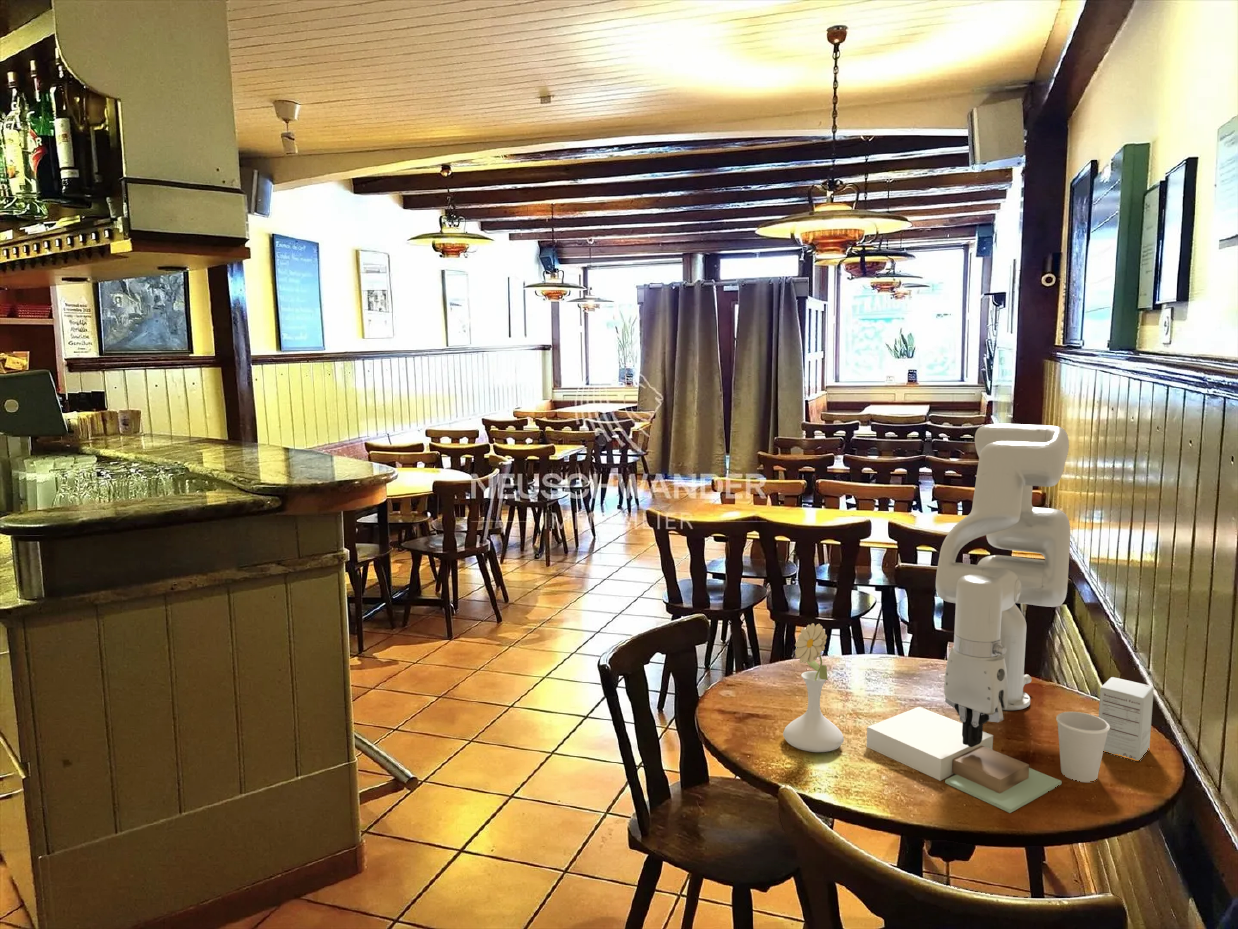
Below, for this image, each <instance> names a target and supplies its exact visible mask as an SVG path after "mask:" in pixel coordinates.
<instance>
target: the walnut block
mask: <svg viewBox="0 0 1238 929" xmlns="http://www.w3.org/2000/svg"><path fill="white" fill-rule="evenodd" d="M1029 768H1030V764H1029V763H1026V762H1024V761H1021V760H1019V759H1016V758H1014V757H1011V756H1008V755H1006V754H1004V753H1002V752H999V751H996V750H994V749H993V748H992V749H989V748H987V747H984V746H980V747H978V748H975V749H973V750H971V751H969V752H967V753H965V754H963V755H961V756H959V757H956V758H954V759H953V765H952V773H954V774H953V775H959V776H961V777H963V778H966V779H968V780H970V781H972V782H975V783H977V784H979V785H981V786H984V787H986V788H988V789H990V790H993V791H995V792H997V793H999V794H1000V793H1002V792H1004V791H1006V790H1007V789H1009V788H1011V787H1013V786H1015V785H1017V784H1018V783H1020V782H1022V781H1024V780H1026V779H1028V777H1029Z"/></svg>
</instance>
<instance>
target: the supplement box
mask: <svg viewBox="0 0 1238 929" xmlns="http://www.w3.org/2000/svg"><path fill="white" fill-rule="evenodd" d="M1154 688H1155V687H1154V686H1152V685H1148V684H1145V683H1141V682H1136V681H1132V680H1127V679H1123V678H1119V677H1114V676H1110V678H1108V680H1107V681H1105V682H1104V684H1102V685H1101V686H1100V690H1099V691H1100V692H1099V703H1098V704H1099V706H1098V717H1099V718H1101V719H1103V720H1105V721H1106V722H1107V723H1108V724H1109V726H1110V729H1109V731H1108V733H1107V737H1106V742H1105V746H1104V751H1106V752H1109V753H1112V754H1118V755H1119V754H1120V755H1122V756H1126V757H1129V758H1133V759H1135V760H1140V759H1141V758H1142V757H1143V755H1144V754H1145V753H1146V752H1147V750H1148V748H1149V749H1150V748H1151V747H1150V746H1151V745H1150V744H1151V731H1152V730H1151V729H1152V717H1153V716H1152V715H1153V702H1154V691H1155V690H1154ZM1148 751H1149V750H1148ZM1147 753H1148V752H1147ZM1147 753H1146V754H1147ZM1112 754H1111V755H1112ZM1146 754H1145V755H1146ZM1145 755H1144V756H1145ZM1143 758H1144V757H1143ZM1143 758H1142V759H1143ZM1142 759H1141V760H1142ZM1141 760H1140V761H1141Z"/></svg>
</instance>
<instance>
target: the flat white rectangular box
mask: <svg viewBox="0 0 1238 929" xmlns="http://www.w3.org/2000/svg"><path fill="white" fill-rule="evenodd" d="M962 726H963V722H961V721H957V720H954V719H953V718H949V717H948V716H944V715H941V714H939V713H936V712H934V711H931V710H929V709H926V708H925V707H922V706H916V707H915V708H912V709H909V710H907V711H904V712H902V713H899V714H896V715H894V716H891V717H888V718H886V719H882V720H881V721H878V722H876V723H873V724H871V725H869V726H867V727H866V747H867V748H868V749H871V750H873V751H875V752H877V753H879V754H882V755H884V756H885V757H888V758H890V759H892V760H894V761H896V762H898V763H901V764H903V765H905V766H908V767H910V768H911V769H914V770H917V771H918V772H920V773H923V774H925V775H927V776H929V777H931V778H933V779H935V780H938V781H940V782H941V781H942V780H946V779H948V778H950V777H952V776H954V775H955V774H954V773H952V765H953V759H954V758H956V757H959V756H961V755H963V754H965V753H967V752H969V751H971V750H973V749H975V748H978V747H980V746H984V747H987V748H989V749H992V750H993V743H994V735H993V734H991V733H987V732H986V731H983V735H982V741H981V743H980V744H978V745H976V746H973V747H969V746H968V745H965V744H963V736H962Z"/></svg>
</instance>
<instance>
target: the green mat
mask: <svg viewBox="0 0 1238 929" xmlns="http://www.w3.org/2000/svg"><path fill="white" fill-rule="evenodd" d="M944 780H945V782H944V783H945V784H947V785H948V786H951V787H952V788H955V789H957V790H959V791H961V792H964V793H966V794H968V795H970V796H972V797H974V798H976V799H979V800H981V801H983V802H985V803H988V804H990V805H992V806H994V807H996V808H998V809H1001V810H1003V811H1005V812H1007V813H1009V814H1011V813H1013V812H1015V811H1016V810H1018V809H1020V808H1021V807H1024V806H1025V805H1027V804H1029V803H1031V802H1033V801H1034V800H1036V799H1038V798H1039V797H1041V796H1044V795H1045V794H1047V793H1048V791H1049V792H1050V791H1052V790H1054V789H1056V788H1057V786H1058V785H1059V786H1061V785H1062V780H1061V779H1058V778H1055V777H1052V776H1050V775H1047V774H1045V773H1043V772H1040V771H1038V770H1037V769H1033V768H1031V767H1029V777H1028V779H1026V780H1024V781H1022V782H1020V783H1018V784H1017V785H1015V786H1013V787H1011V788H1009V789H1007V790H1006V791H1004V792H1002V793H1000V794H999V793H997V792H995V791H993V790H990V789H988V788H986V787H984V786H981V785H979V784H977V783H975V782H972V781H970V780H968V779H966V778H963V777H961V776H959V775H956V774H953V775H951V776H949V777H947V778H945V779H944ZM1059 786H1058V787H1059ZM1055 787H1056V788H1055Z"/></svg>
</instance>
